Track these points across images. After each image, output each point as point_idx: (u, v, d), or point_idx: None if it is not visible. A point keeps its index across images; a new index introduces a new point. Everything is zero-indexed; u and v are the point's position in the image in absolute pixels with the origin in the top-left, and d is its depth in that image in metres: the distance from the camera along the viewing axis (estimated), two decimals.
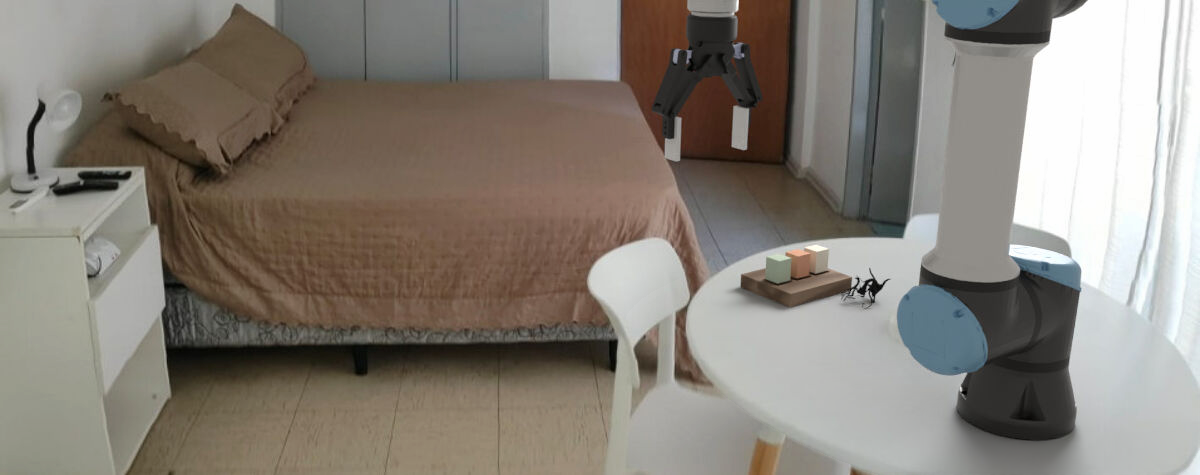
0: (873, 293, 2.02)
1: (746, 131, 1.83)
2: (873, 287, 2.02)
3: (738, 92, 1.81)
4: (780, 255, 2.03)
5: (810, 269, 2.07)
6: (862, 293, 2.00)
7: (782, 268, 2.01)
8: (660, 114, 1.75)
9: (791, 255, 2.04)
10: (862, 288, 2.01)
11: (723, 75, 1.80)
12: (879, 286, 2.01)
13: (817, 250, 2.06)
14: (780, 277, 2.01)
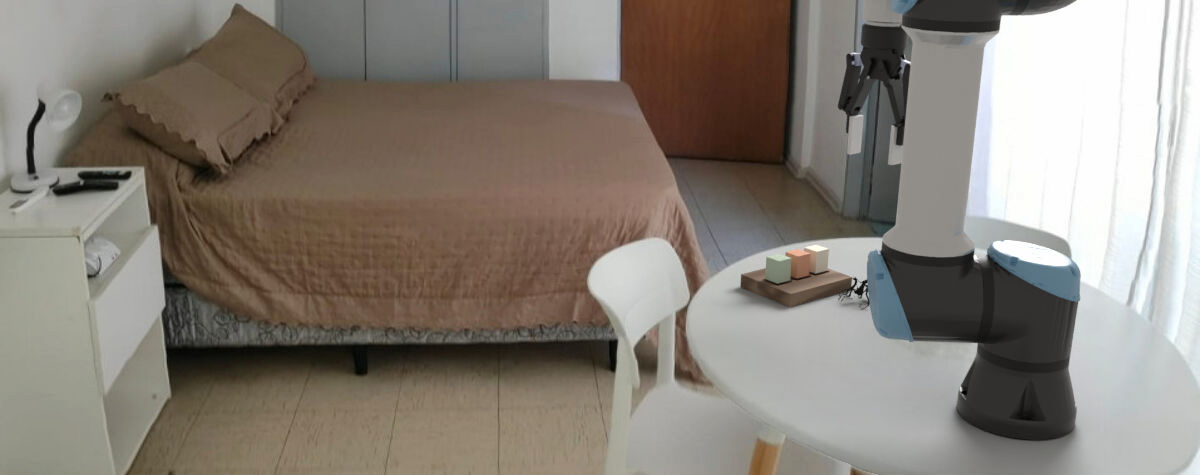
0: None
1: (891, 147, 1.95)
2: None
3: None
4: (780, 255, 2.03)
5: (810, 269, 2.07)
6: (859, 294, 2.00)
7: (782, 268, 2.01)
8: None
9: (791, 255, 2.04)
10: (859, 289, 2.00)
11: None
12: None
13: (817, 250, 2.06)
14: (780, 277, 2.01)
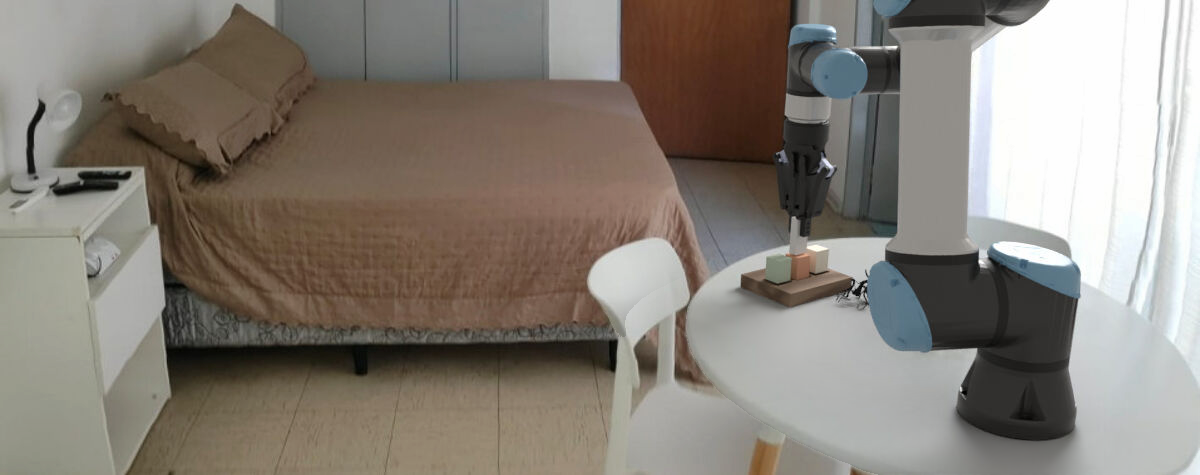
0: None
1: (795, 238, 2.03)
2: None
3: None
4: (780, 255, 2.03)
5: (810, 269, 2.07)
6: (857, 294, 2.00)
7: (782, 268, 2.01)
8: None
9: (791, 257, 2.04)
10: (857, 289, 2.00)
11: None
12: None
13: (817, 250, 2.06)
14: (780, 277, 2.01)
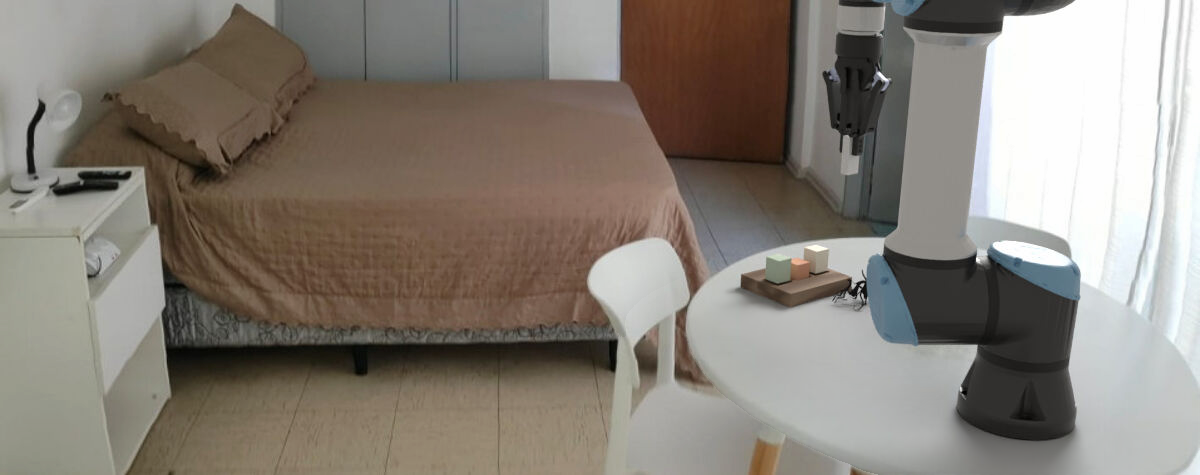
0: (865, 295, 2.01)
1: (847, 158, 1.98)
2: (865, 289, 2.01)
3: None
4: (780, 255, 2.03)
5: (810, 269, 2.07)
6: (853, 295, 1.99)
7: (782, 268, 2.01)
8: None
9: None
10: (854, 290, 2.00)
11: None
12: None
13: (817, 250, 2.06)
14: (780, 277, 2.01)
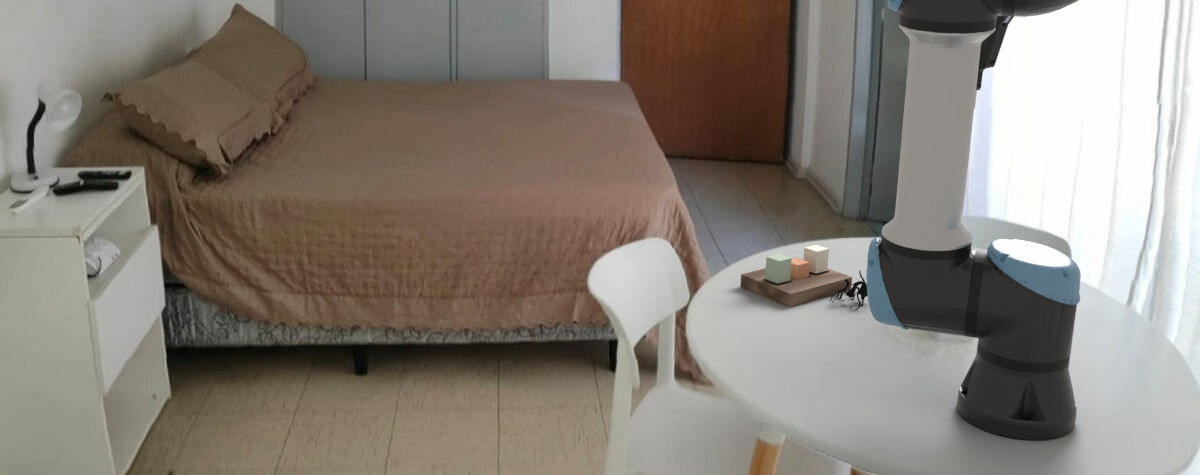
0: (862, 296, 2.00)
1: None
2: (862, 290, 2.00)
3: None
4: (780, 255, 2.03)
5: (810, 269, 2.07)
6: (851, 296, 1.99)
7: (782, 268, 2.01)
8: None
9: None
10: (851, 291, 1.99)
11: None
12: None
13: (817, 250, 2.06)
14: (780, 277, 2.01)
